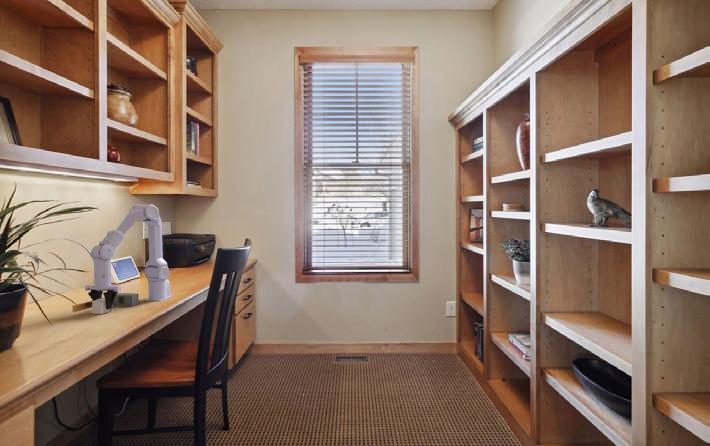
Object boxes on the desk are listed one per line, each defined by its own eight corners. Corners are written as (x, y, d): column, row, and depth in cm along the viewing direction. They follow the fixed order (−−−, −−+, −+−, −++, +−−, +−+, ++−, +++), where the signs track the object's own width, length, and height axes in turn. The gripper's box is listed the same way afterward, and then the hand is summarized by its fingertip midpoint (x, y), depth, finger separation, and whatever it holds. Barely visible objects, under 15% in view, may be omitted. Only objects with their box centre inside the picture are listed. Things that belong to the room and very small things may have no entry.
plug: (105, 309, 162) (105, 296, 162) (115, 309, 162) (115, 297, 161) (92, 313, 155) (91, 300, 155) (102, 314, 155) (101, 301, 154)
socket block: (116, 303, 173) (115, 292, 173) (138, 304, 172) (138, 293, 171) (96, 309, 162) (96, 298, 162) (120, 310, 161) (120, 299, 160)
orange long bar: (100, 305, 164) (99, 296, 164) (102, 305, 163) (102, 296, 163) (72, 313, 152) (71, 303, 152) (74, 313, 152) (74, 303, 151)
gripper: (78, 276, 155) (79, 310, 155) (111, 277, 153) (112, 311, 153) (92, 273, 162) (93, 306, 162) (124, 274, 160) (125, 307, 160)
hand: (103, 308), depth 158 cm, fingers closed on plug, 4 cm apart
